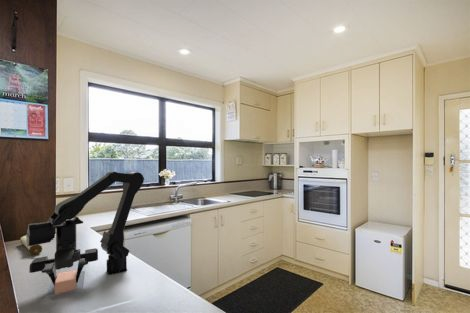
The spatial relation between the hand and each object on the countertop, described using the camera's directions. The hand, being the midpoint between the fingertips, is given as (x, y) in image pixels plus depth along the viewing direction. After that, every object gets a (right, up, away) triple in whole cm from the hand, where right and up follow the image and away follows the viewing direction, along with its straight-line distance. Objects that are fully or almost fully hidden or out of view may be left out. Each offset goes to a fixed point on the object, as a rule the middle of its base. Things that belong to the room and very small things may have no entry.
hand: (66, 284), depth 83 cm
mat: (-1, -1, +3) cm, 3 cm away
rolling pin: (-45, -3, +39) cm, 59 cm away
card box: (0, -1, 0) cm, 0 cm away
